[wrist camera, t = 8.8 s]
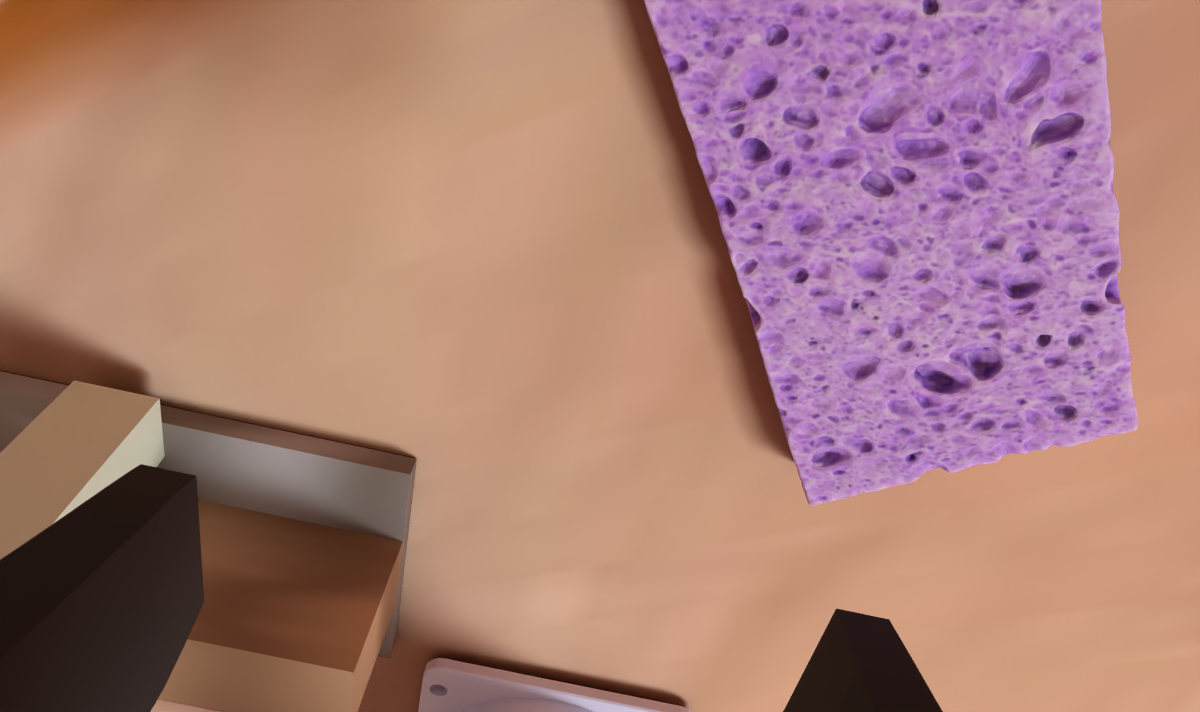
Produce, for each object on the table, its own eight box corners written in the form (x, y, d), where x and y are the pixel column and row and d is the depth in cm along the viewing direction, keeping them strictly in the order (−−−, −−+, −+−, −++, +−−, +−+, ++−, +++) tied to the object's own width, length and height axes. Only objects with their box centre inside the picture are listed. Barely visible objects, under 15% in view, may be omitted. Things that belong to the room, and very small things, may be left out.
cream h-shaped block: (179, 621, 25) (26, 875, 20) (108, 607, 25) (-66, 857, 20) (159, 398, 21) (-46, 637, 15) (74, 380, 21) (-165, 614, 15)
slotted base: (416, 458, 22) (359, 602, 18) (395, 640, 26) (344, 791, 22) (-156, 338, 22) (-339, 460, 18) (-92, 542, 26) (-232, 679, 22)
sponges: (797, 456, 22) (806, 509, 20) (621, -83, 16) (614, -68, 14) (1109, 385, 20) (1145, 436, 18) (1045, -254, 14) (1090, -258, 12)
